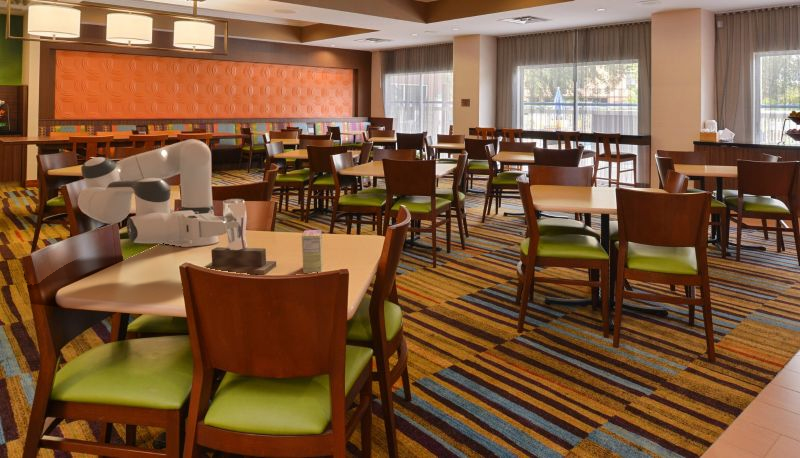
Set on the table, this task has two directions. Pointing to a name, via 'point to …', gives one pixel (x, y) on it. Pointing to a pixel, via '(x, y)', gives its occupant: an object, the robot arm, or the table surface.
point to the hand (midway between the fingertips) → (233, 221)
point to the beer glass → (235, 212)
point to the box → (312, 251)
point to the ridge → (241, 260)
